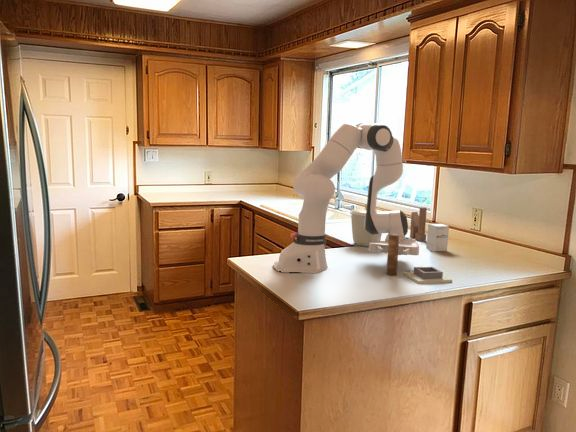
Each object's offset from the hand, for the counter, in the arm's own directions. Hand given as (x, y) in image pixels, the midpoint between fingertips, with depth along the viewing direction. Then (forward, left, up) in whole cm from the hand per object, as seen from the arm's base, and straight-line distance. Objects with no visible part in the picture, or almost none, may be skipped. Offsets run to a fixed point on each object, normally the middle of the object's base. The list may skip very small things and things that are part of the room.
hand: (392, 251), depth 194 cm
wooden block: (+42, +63, -9) cm, 76 cm away
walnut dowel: (0, -1, -9) cm, 9 cm away
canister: (+9, +53, -9) cm, 55 cm away
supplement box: (+40, +38, -9) cm, 56 cm away
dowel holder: (+12, -8, -9) cm, 17 cm away
